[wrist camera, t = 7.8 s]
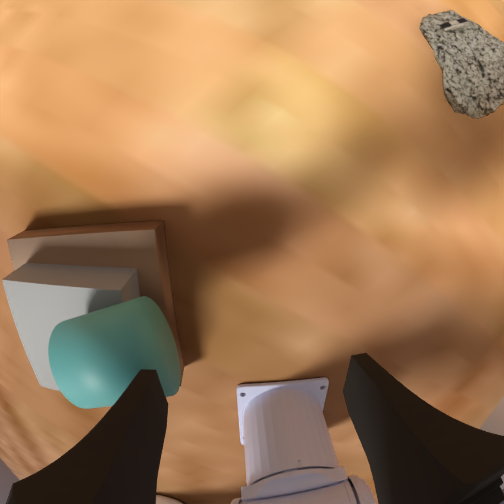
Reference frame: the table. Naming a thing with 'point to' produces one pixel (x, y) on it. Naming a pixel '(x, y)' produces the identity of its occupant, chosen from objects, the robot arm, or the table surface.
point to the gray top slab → (61, 302)
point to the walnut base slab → (106, 256)
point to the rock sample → (467, 63)
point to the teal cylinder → (112, 352)
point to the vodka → (166, 500)
